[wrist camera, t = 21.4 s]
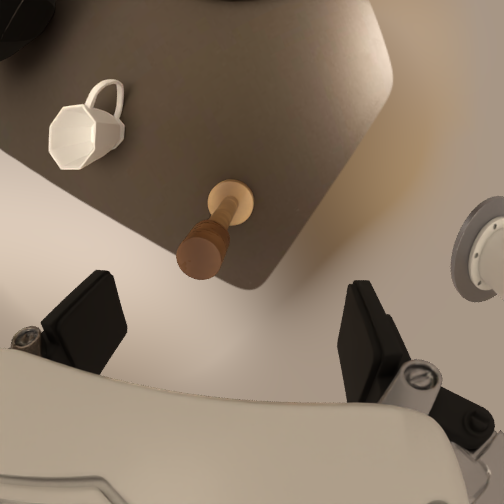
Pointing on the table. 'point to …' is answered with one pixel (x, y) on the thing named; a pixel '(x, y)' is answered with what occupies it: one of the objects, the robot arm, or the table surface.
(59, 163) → the cup
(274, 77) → the table surface
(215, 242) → the brown long flanged bar
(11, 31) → the table lamp
